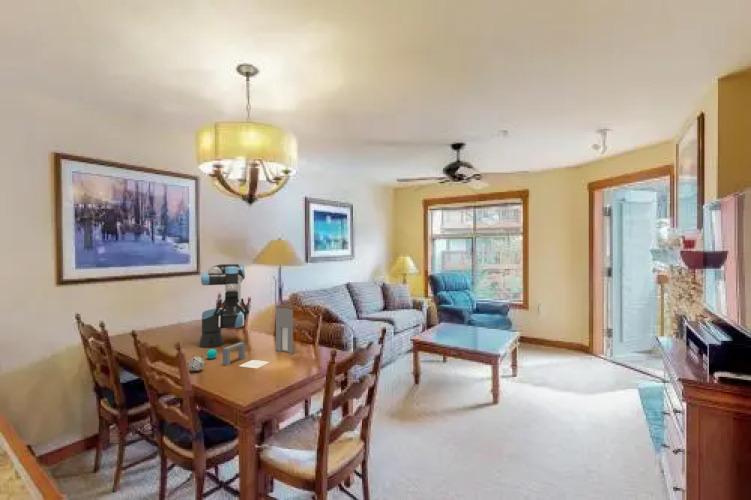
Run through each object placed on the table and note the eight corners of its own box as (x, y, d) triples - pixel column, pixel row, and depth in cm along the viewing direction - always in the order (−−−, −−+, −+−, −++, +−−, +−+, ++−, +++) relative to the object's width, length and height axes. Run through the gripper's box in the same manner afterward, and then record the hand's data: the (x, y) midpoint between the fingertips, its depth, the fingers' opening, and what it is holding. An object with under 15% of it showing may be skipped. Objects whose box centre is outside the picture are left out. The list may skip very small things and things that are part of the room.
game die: (196, 379, 199) (190, 368, 193) (187, 371, 204) (180, 359, 197) (211, 367, 205) (205, 356, 199) (202, 359, 209) (196, 348, 203)
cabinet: (292, 354, 233) (292, 308, 232) (276, 355, 230) (276, 308, 230) (290, 345, 253) (290, 303, 252) (275, 346, 250) (275, 303, 250)
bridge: (222, 365, 211) (222, 348, 211) (240, 357, 225) (240, 342, 225) (227, 365, 210) (227, 348, 210) (244, 358, 224) (244, 342, 224)
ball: (204, 359, 222) (204, 349, 222) (211, 356, 227) (211, 347, 227) (212, 360, 220) (212, 350, 220) (219, 357, 225) (219, 348, 225)
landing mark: (238, 366, 209) (238, 365, 209) (252, 360, 221) (252, 359, 221) (256, 368, 205) (256, 368, 205) (270, 362, 216) (270, 361, 216)
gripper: (209, 291, 230) (208, 327, 226) (252, 289, 238) (253, 324, 234) (210, 293, 237) (209, 327, 233) (252, 291, 245) (252, 325, 241)
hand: (231, 326), depth 233 cm, fingers open, 13 cm apart
